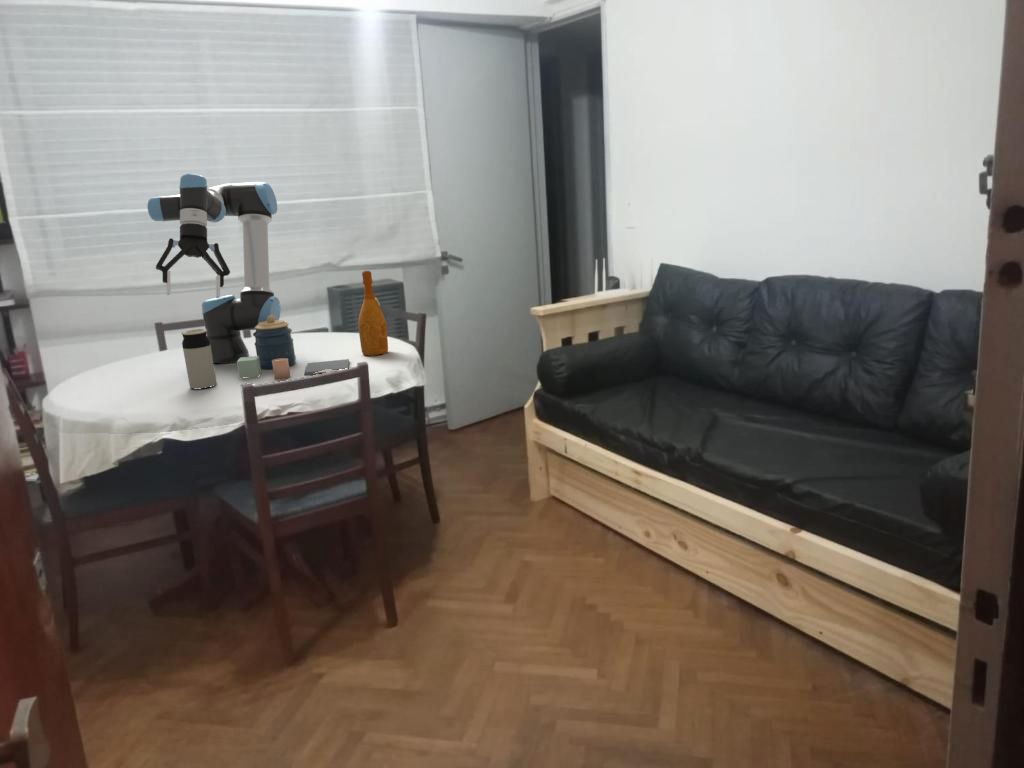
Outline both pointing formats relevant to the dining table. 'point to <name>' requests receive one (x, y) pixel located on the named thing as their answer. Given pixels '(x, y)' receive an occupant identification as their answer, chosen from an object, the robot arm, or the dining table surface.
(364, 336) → the wine bottle
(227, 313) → the robot arm
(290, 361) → the canister
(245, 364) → the sage block
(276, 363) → the salmon block
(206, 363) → the travel mug
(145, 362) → the dining table surface
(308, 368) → the mat
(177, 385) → the dining table surface
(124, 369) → the dining table surface
